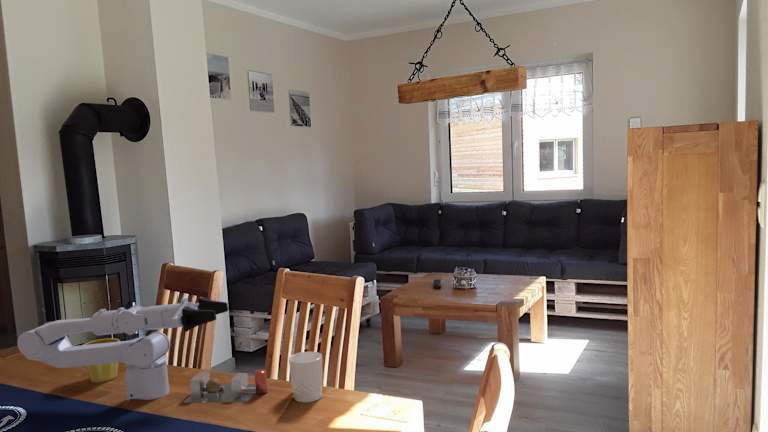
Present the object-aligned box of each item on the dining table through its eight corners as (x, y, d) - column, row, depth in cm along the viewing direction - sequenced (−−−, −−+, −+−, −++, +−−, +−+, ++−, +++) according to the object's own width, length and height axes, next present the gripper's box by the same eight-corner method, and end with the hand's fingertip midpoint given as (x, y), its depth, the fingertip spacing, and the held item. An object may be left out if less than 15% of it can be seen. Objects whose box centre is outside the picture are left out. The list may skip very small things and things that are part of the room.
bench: (183, 407, 143) (181, 384, 142) (202, 389, 154) (200, 367, 153) (248, 406, 141) (246, 383, 141) (262, 388, 152) (261, 367, 151)
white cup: (318, 404, 140) (316, 362, 139) (286, 403, 142) (283, 362, 141) (328, 391, 148) (326, 351, 147) (298, 390, 150) (295, 351, 149)
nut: (204, 396, 146) (202, 381, 146) (209, 390, 150) (208, 376, 149) (218, 395, 146) (217, 381, 145) (223, 390, 149) (222, 376, 149)
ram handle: (232, 395, 145) (230, 375, 144) (239, 387, 149) (237, 368, 149) (264, 395, 144) (262, 375, 143) (270, 387, 148) (268, 367, 148)
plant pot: (73, 383, 163) (69, 348, 162) (104, 370, 173) (101, 336, 172) (102, 387, 159) (98, 351, 158) (132, 373, 169) (128, 339, 168)
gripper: (150, 308, 139) (206, 302, 138) (178, 293, 154) (229, 287, 152) (155, 337, 140) (211, 332, 138) (183, 320, 154) (233, 315, 153)
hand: (221, 311), depth 145 cm, fingers open, 7 cm apart
